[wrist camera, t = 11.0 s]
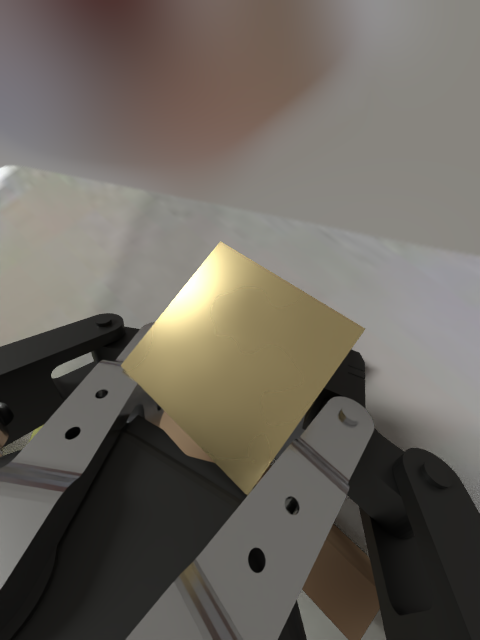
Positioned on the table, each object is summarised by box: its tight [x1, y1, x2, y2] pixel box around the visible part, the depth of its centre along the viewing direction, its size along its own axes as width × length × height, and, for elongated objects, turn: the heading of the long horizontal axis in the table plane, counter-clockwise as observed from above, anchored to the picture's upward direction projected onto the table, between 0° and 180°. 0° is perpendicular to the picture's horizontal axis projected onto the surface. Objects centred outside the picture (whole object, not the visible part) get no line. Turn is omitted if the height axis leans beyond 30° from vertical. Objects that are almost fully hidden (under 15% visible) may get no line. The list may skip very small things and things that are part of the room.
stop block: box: [121, 242, 365, 496], centre depth 10 cm, size 4×4×10 cm
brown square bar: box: [159, 411, 380, 640], centre depth 14 cm, size 18×2×2 cm, turn 52°
